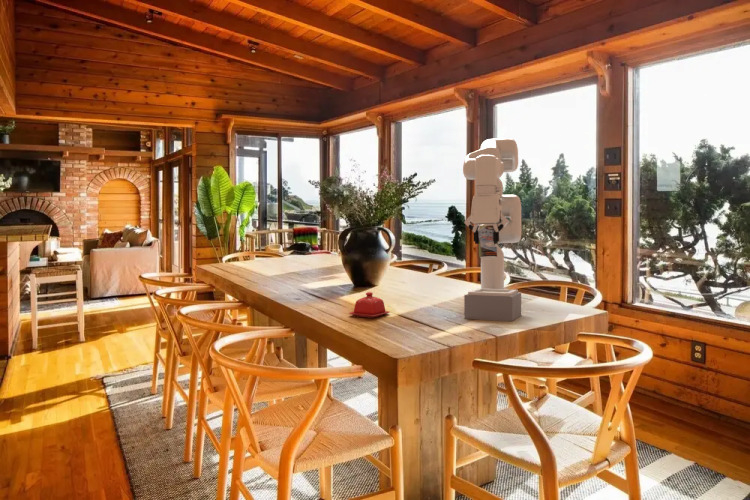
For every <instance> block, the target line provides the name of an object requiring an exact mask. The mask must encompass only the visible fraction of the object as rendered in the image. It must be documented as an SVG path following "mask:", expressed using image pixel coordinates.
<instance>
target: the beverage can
mask: <svg viewBox="0 0 750 500" xmlns="http://www.w3.org/2000/svg"><path fill="white" fill-rule="evenodd" d="M493 233H494V227H493V225H483V226H480V228H479V229H478V239H479V244H478V253H479V254H478V256H479V257H478V258H480V259H481V258H482V260H491V259H495V258H496V257H497V245H498V244H494V241H493Z"/></svg>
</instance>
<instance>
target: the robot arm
mask: <svg viewBox="0 0 750 500" xmlns="http://www.w3.org/2000/svg"><path fill="white" fill-rule="evenodd" d="M462 165H463V166H462V174H463V177H464V178H465V179H466V180H469V181H470V180H471V181H473V180H474V195H472V196H473V197H472V201H471V209H470V214H469V216H468V217H467V218H466V219H465V221H464V222H463V223H464V224H465V226H467V228H468V229H470V230H471V231H472V233H473V242H474V244H475V245H479V239H478V230H479V228H480V226H483V225H493V227H494V233H493V241H494V244H497V257H496V258H495V259H491V260H482V258H480V289H505V255H504V251H503V250H502V248H501V247H500V246H499V245H498V244H516V243H519V242H520V241H521V239H522V203H521V198H520V197H519V196H518V195H516V194H504V193H503V191H504V187H503V186H504V184H503V182H502V181H501V179H500V178H501V177H502V175H503V174H504V173H514V172H515V171H517V169H518V167H519V147H518V144H517V141H516V140H515V139H514V138H511V137H504V138H488V139H486V140H484V141H483V142H482V143H481V144H480V147H479V149H478V150H475V151H473V152H470V153H469V154H467V155H466V156H465V159H464V161H463V164H462ZM508 219H509V220H508Z"/></svg>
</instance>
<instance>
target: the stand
mask: <svg viewBox="0 0 750 500" xmlns="http://www.w3.org/2000/svg"><path fill="white" fill-rule="evenodd" d="M463 297H464V299H463V300H464V304H463V305H464V307H463V308H464V312H463V313H464V319H465V320H485V321H498V322H499V321H501V322H502V321H503V322H513V321H515V320H516V319H518V318H519V317H521V316H522V292H521V291H519V290H518V289H505V288H504V289H481V288H476V289H472V290H469V291H468V292H467V293H466V294H464V296H463Z"/></svg>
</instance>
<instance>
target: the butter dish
mask: <svg viewBox="0 0 750 500" xmlns="http://www.w3.org/2000/svg"><path fill="white" fill-rule="evenodd" d="M373 294H374V293H373V292H371V291H368V292H366V293H365V295H366V296H363V297H361V298H358V299H357V300H356V301H355V304H354V308H353V311H350V312H348V314H349V315H352V316H354V317H360V318H371V319H373V318H378V317H380V316H384V315H386V314H389V313H391V311H388V310H386V307H385V302H384V300H383V299H382V298H380V297H376V296H373Z"/></svg>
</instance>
